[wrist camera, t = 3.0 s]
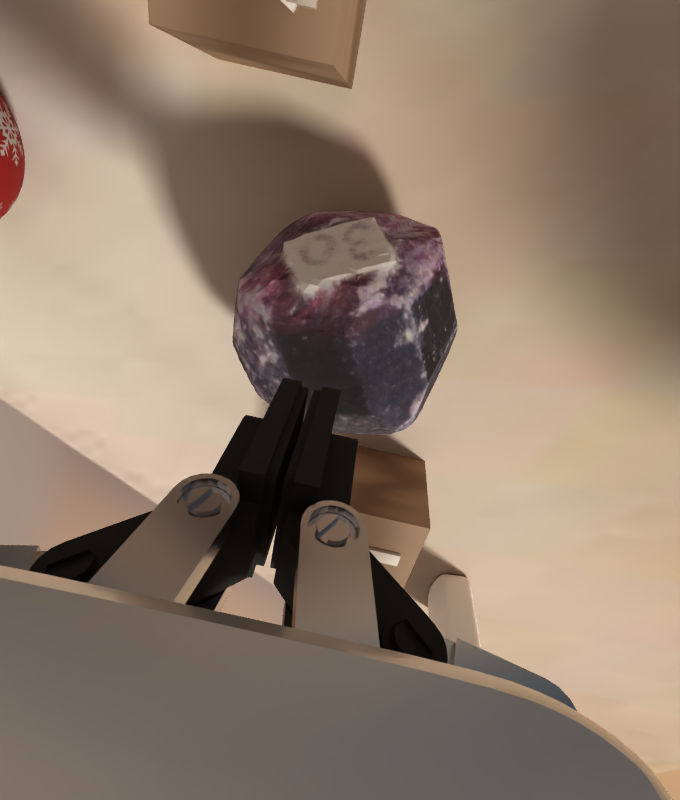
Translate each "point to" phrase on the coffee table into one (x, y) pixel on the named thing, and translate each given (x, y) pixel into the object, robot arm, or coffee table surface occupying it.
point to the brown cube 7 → (271, 33)
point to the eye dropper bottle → (453, 609)
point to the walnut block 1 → (392, 508)
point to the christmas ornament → (10, 159)
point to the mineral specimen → (349, 315)
